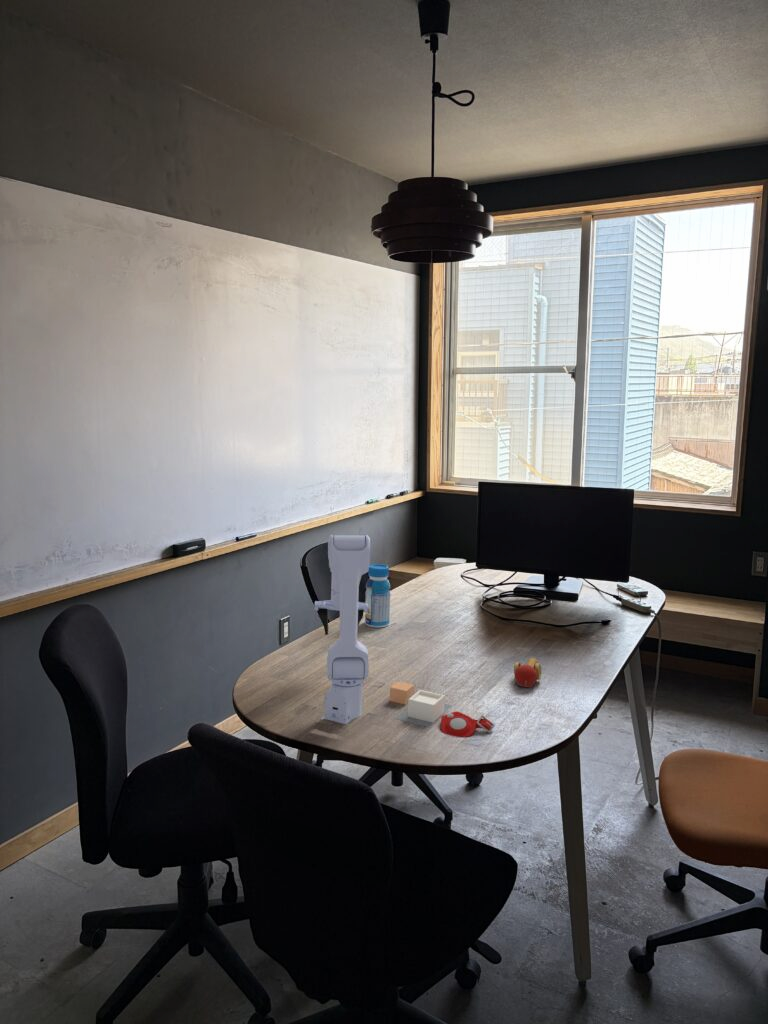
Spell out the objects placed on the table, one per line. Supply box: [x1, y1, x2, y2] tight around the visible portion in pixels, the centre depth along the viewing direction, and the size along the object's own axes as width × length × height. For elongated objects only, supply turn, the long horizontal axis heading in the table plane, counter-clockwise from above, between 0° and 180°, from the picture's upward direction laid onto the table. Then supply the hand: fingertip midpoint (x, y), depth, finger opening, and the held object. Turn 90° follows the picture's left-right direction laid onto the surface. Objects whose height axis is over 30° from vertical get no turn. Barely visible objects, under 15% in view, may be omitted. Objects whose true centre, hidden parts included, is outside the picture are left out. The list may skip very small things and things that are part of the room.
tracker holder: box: [440, 710, 496, 738], centre depth 177 cm, size 12×4×10 cm
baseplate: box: [394, 703, 452, 728], centre depth 185 cm, size 14×9×1 cm, turn 153°
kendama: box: [513, 657, 542, 688], centre depth 210 cm, size 8×6×18 cm
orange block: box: [389, 680, 415, 706], centre depth 192 cm, size 5×5×4 cm
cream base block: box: [407, 689, 446, 722], centre depth 183 cm, size 7×7×4 cm
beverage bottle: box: [364, 563, 391, 629], centre depth 253 cm, size 8×8×20 cm
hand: (340, 633), depth 211 cm, fingers open, 7 cm apart
